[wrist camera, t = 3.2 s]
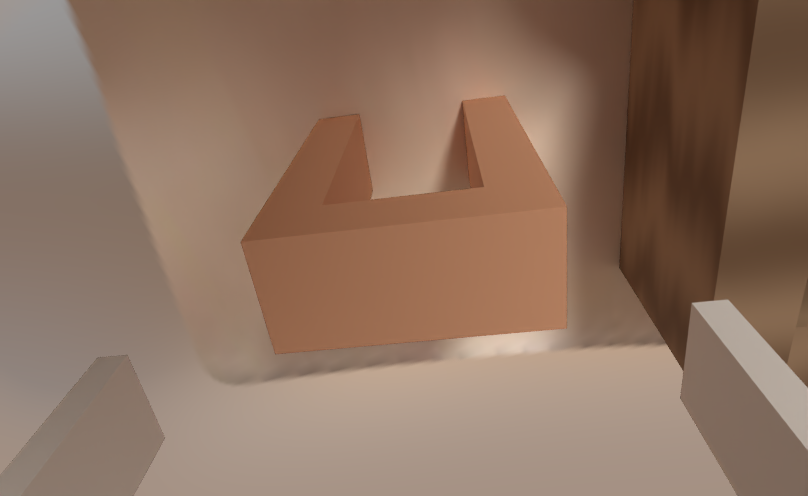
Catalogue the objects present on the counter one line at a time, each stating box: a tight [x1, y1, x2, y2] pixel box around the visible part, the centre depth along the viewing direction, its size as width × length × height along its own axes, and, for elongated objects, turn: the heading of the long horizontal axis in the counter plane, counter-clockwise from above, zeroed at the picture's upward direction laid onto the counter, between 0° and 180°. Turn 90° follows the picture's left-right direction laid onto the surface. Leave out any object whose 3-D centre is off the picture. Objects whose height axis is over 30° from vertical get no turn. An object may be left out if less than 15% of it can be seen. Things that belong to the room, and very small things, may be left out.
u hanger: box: [241, 96, 567, 354], centre depth 22 cm, size 4×9×13 cm, turn 98°
